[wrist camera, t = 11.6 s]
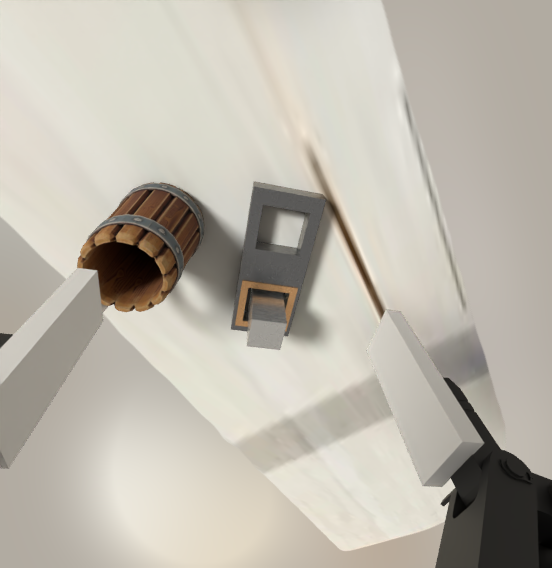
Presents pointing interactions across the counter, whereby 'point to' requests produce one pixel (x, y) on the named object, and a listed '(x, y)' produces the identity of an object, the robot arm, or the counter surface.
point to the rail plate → (276, 251)
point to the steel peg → (266, 319)
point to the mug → (143, 246)
